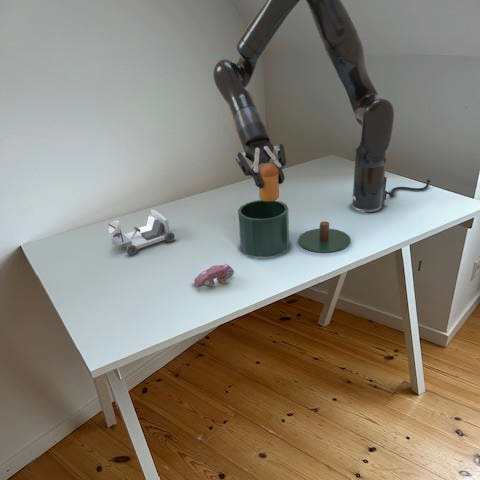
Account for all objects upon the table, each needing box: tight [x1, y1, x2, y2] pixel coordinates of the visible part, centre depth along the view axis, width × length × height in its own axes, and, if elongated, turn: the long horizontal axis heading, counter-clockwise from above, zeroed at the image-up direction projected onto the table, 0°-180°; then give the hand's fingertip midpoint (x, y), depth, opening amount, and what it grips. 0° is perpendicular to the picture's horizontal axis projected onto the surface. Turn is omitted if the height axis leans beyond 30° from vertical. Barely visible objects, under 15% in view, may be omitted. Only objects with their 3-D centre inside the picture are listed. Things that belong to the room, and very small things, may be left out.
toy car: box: [108, 208, 175, 256], centre depth 145 cm, size 18×10×12 cm
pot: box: [237, 199, 290, 258], centre depth 136 cm, size 14×14×12 cm
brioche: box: [258, 163, 280, 201], centre depth 131 cm, size 5×5×10 cm
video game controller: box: [193, 263, 235, 289], centre depth 123 cm, size 10×5×7 cm, turn 118°
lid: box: [297, 220, 351, 254], centre depth 137 cm, size 15×15×6 cm
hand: (271, 184), depth 130 cm, fingers closed on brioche, 5 cm apart
